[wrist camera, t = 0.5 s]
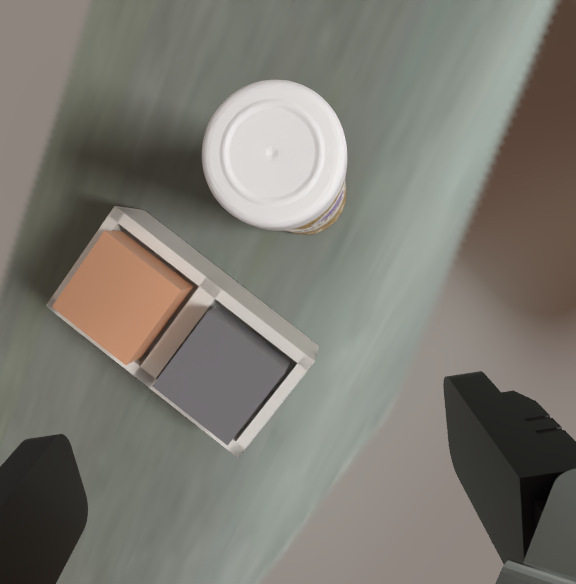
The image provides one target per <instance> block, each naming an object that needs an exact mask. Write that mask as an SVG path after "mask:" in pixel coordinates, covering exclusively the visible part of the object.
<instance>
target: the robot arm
mask: <svg viewBox="0 0 576 584" xmlns="http://www.w3.org/2000/svg"><path fill="white" fill-rule="evenodd" d="M444 397H445V408H446V419H447V429H448V441H449V449H450V454H451V459H452V462H453V466H454V469H455V472H456V474H457V476H458V478H459V480H460V482H461V484H462V486H463V487H464V489H465V491H466V493H467V495H468V497H469V499H470V501H471V503H472V505H473V507H474V508H475V510H476V512H477V514H478V516H479V518H480V520H481V522H482V524H483V526H484V527H485V529H486V531H487V533H488V535H489V537H490V539H491V541H492V543H493V544H494V546H495V548H496V550H497V552H498V554H499V556H500V558H501V560H502V562H503V564H504V566H503V568H502V570H501V572H500V575H499V577H498V579H497V582H496V584H576V441H575V440H574V439H573V438H572V437H571V436H570V435H569V434H568V433H567V432H566V431H565V430H562V428H561V426H560V425H559V424H558V423H557V422H556V421H555V420H554V419H553V418H550V415H549V414H548V413H547V412H546V411H545V410H544V409H543V408H542V407H541V406H540V405H539V404H538V403H537V402H536V401H534V400H532V399H530V398H528V397H525V396H524V395H521V394H519V393H517V392H515V391H508V392H502V393H501V392H500V391H499V390H498V389H497V387H496V386H495V385H494V384H493V383H492V382H491V381H490V379H488V377H487V376H486V375H485V374H484V373H483V372H481V371H480V372H473V373H467V374H460V375H454V376H447V377H445V378H444ZM87 516H88V503H87V497H86V494H85V490H84V487H83V484H82V480H81V477H80V474H79V470H78V467H77V464H76V460H75V457H74V454H73V451H72V447H71V444H70V442H69V440H68V438H67V437H66V436H65V435H63V434H58V435H51V436H45V437H38V438H32V439H26V440H24V441H23V442H22V443H21V444H20V445H19V446H18V447H17V449H16V450H15V451H14V452H13V453H12V454H11V455H10V456H9V458H8V459H7V460H6V461H5V462H4V463H3V464H2V466H1V467H0V584H56V582H57V580H58V578H59V576H60V575H61V573H62V571H63V569H64V567H65V565H66V563H67V561H68V559H69V557H70V555H71V553H72V551H73V550H74V548H75V546H76V544H77V542H78V540H79V538H80V536H81V534H82V532H83V530H84V528H85V525H86V522H87Z"/></svg>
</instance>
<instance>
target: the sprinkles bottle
mask: <svg viewBox="0 0 576 584" xmlns="http://www.w3.org/2000/svg"><path fill="white" fill-rule="evenodd" d="M202 165H203V171H204V175H205V178H206V181H207V184H208V186H209V188H210V190H211V192H212V194H213V196H214V197H215V198H216V200H217V201H218V202H219V204H220V205H221V206H222V207H223V208H224V209H225V210H227V211H228V212H229V213H230V214H231V215H233V216H234V217H236V218H237V219H239V220H241V221H242V222H245V223H247V224H249V225H252V226H255V227H258V228H262V229H267V230H275V231H278V230H284V231H288V232H292V233H295V234H303V235H306V234H307V235H310V234H315V233H318V232H320V231H323V230H325V229H326V228H328V227H329V226H330V225H332V224H333V223H334V222H335V221H336V220H337V218H338V217H339V216H340V214H341V212H342V210H343V208H344V205H345V201H346V183H345V175H346V169H347V147H346V140H345V136H344V132H343V128H342V126H341V123H340V121H339V119H338V117H337V115H336V114H335V112H334V111H333V109H332V108H331V107H330V106H329V104H328V103H327V102H326V101H325V100H324V99H323V98H322V97H321V96H319V95H318V94H317V93H316V92H314V91H313V90H311V89H309V88H307V87H305V86H303V85H301V84H298V83H295V82H291V81H286V80H264V81H259V82H256V83H253V84H249V85H247V86H245V87H243V88H241V89H239V90H237V91H236V92H234V93H233V94H231V95H230V96H229V97H228V98H227V99H226V100H225V101H224V102H223V103H222V104H221V105H220V106H219V107H218V109H217V110H216V111H215V113H214V114H213V116H212V118H211V120H210V121H209V124H208V126H207V129H206V132H205V135H204V139H203V144H202Z"/></svg>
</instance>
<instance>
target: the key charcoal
mask: <svg viewBox="0 0 576 584" xmlns="http://www.w3.org/2000/svg"><path fill="white" fill-rule="evenodd" d="M289 364H290V362H289V361H288V360H286V359H285V358H284V357H283V356H281V355H280V354H279V353H277V352H276V351H275V350H274V349H272V348H271V347H270V346H269V345H267V344H266V343H265V342H263V341H262V340H261V339H260V338H258V337H257V336H256V335H254V334H253V333H252V332H251V331H249V330H248V329H247V328H245V327H244V326H243V325H242V324H240V323H239V322H238V321H236V320H235V319H234V318H233V317H231V316H230V315H229V314H227V313H226V312H225V311H224V310H222V309H221V308H220V307H219V306H218V307H216V308H214V309H212V310H210V311H208V312H207V313H206V315H205V316H204V317H203V319H202V320H201V321H200V323H199V324H198V325H197V327H196V328H195V329H194V331H193V332H192V333H191V335H190V336H189V337H188V339H187V340H186V341H185V343H184V344H183V345H182V347H181V348H180V349H179V351H178V352H177V353H176V355H175V356H174V357H173V359H172V360H171V362H170V363H169V364H168V366H167V367H166V368H165V370H164V371H163V372H162V374H161V375H160V376H159V378H158V379H157V380H156V382H155V383H154V384H153V387H154V388H155V389H156V390H158V391H159V392H160V393H161V394H163V395H164V396H165V397H167V398H168V399H169V400H170V401H172V402H173V403H174V404H175V405H177V406H178V407H179V408H180V409H182V410H183V411H184V412H186V413H187V414H188V415H189V416H191V417H192V418H193V419H194V420H196V421H197V422H198V423H199V424H201V425H202V426H203V427H205V428H206V429H207V430H208V431H210V432H211V433H212V434H213V435H215V436H216V437H217V438H218V439H220V440H221V441H222V442H224V443H225V444H226V445H227V446H228V444H229V443H230V442H231V441H232V439H233V438H234V437H235V436H236V434H237V433H238V432H239V431H240V429H241V428H242V427H243V425H244V424H245V423H246V422H247V420H248V419H249V418H250V417H251V415H252V414H253V413H254V412H255V410H256V409H257V408H258V406H259V405H260V404H261V403H262V401H263V400H264V399H265V398H266V396H267V395H268V394H269V392H270V391H271V390H272V389H273V387H274V386H275V385H276V384H277V382H278V381H279V380H280V379H281V377H282V376H283V375H284V373H285V372H286V370H287V368H288V366H289Z"/></svg>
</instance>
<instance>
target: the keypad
mask: <svg viewBox="0 0 576 584" xmlns="http://www.w3.org/2000/svg"><path fill="white" fill-rule="evenodd" d="M104 231H122V232H124V233H125V234H126V235H127V236H129V237H130V238H131V239H133V240H134V241H135V242H136V243H138V244H139V245H140V246H142V247H143V248H144V249H145V250H147V251H148V252H149V253H151V254H152V255H153V256H154V257H156V258H157V259H158V260H160V261H161V262H162V263H163V264H165V265H166V266H167V267H169V268H170V269H171V270H172V271H174V272H175V273H176V274H177V275H179V276H180V277H181V278H183V279H184V280H185V281H186V282H188V283H189V284H190V285H192V286H193V288H192V289H191V291H190V292H189V293H188V295H187V296H186V297H185V299H184V300H183V301H182V303H181V304H180V305H179V307H178V308H177V310H176V311H175V312H174V314H173V315H172V316H171V318H170V319H169V320H168V322H167V323H166V325H165V326H164V327H163V329H162V330H161V331H160V333H159V334H158V335H157V337H156V338H155V339H154V341H153V342H152V344H151V345H150V346H149V348H148V349H147V350H146V352H145V353H144V354H143V356H142V357H140V358H139V359H137V360H135V361H133V362H132V363H130V364H128V365H125V364H123V363H122V362H121V361H120V360H118V359H117V358H116V357H115V356H113V355H112V354H111V353H109V352H108V351H107V350H106V349H104V348H103V347H102V346H101V345H99V344H98V343H97V342H96V341H94V340H93V339H92V338H90V337H89V336H88V335H87V334H85V333H84V332H83V331H82V330H80V329H79V328H78V327H77V326H75V325H74V324H73V323H71V322H70V321H69V320H68V319H66V318H65V317H64V316H63V315H61V314H60V313H59V312H58V311H56V310H55V309H54V308H52V306H53V304H54V303H55V301H56V300H57V298H58V297H59V296H60V294H61V293H62V291H63V290H64V288H65V287H66V285H67V284H68V283H69V281H70V280H71V278H72V277H73V275H74V274H75V272H76V271H77V270H78V268H79V267H80V265H81V264H82V262H83V261H84V259H85V258H86V257H87V255H88V254H89V252H90V251H91V249H92V248H93V246H94V245H95V244H96V242H97V241H98V239H99V238H100V236H101V235H102V233H103V232H104ZM218 306H219V307H220V308H221V309H222V310H224V311H225V312H226V313H227V314H229V315H230V316H231V317H233V318H234V319H235V320H236V321H238V322H239V323H240V324H242V325H243V326H244V327H245V328H247V329H248V330H249V331H251V332H252V333H253V334H254V335H256V336H257V337H258V338H260V339H261V340H262V341H263V342H265V343H266V344H267V345H269V346H270V347H271V348H272V349H274V350H275V351H276V352H277V353H279V354H280V355H281V356H283V357H284V358H285V359H286V360H288V361H289V362H290V364H289V366H288V368H287V370H286V372H285V373H284V375H283V376H282V377H281V379H280V380H279V381H278V382H277V384H276V385H275V386H274V387H273V389H272V390H271V391H270V392H269V394H268V395H267V396H266V398H265V399H264V400H263V401H262V403H261V404H260V405H259V406H258V408H257V409H256V410H255V412H254V413H253V414H252V415H251V417H250V418H249V419H248V420H247V422H246V423H245V424H244V425H243V427H242V428H241V429H240V431H239V432H238V433H237V434H236V436H235V437H234V438H233V439H232V441H231V442H230V443H229V444H228V446H227V445H226V444H225V443H224V442H222V441H221V440H220V439H218V438H217V437H216V436H215V435H213V434H212V433H211V432H210V431H208V430H207V429H206V428H205V427H203V426H202V425H201V424H199V423H198V422H197V421H196V420H194V419H193V418H192V417H191V416H189V415H188V414H187V413H186V412H184V411H183V410H182V409H180V408H179V407H178V406H177V405H175V404H174V403H173V402H172V401H170V400H169V399H168V398H167V397H165V396H164V395H163V394H161V393H160V392H159V391H158V390H156V389H155V388H154V387H153V384H154V383H155V382H156V380H157V379H158V378H159V376H160V375H161V374H162V372H163V371H164V370H165V368H166V367H167V366H168V364H169V363H170V362H171V360H172V359H173V357H174V356H175V355H176V353H177V352H178V351H179V349H180V348H181V347H182V345H183V344H184V343H185V341H186V340H187V339H188V337H189V336H190V335H191V333H192V332H193V331H194V329H195V328H196V327H197V325H198V324H199V323H200V321H201V320H202V319H203V317H204V316H205V315H206V313H207V312H208V311H210V310H212V309H214V308H216V307H218ZM46 307H47V308H49V309H50V310H51V311H52V312H54V313H55V314H56V315H58V316H59V317H60V318H61V319H63V320H64V321H65V322H66V323H68V324H69V325H70V326H71V327H73V328H74V329H75V330H77V331H78V332H79V333H80V334H82V335H83V336H84V337H85V338H87V339H88V340H89V341H90V342H92V343H93V344H94V345H96V346H97V347H98V348H99V349H101V350H102V351H103V352H104V353H106V354H107V355H108V356H110V357H111V358H112V359H113V360H115V361H116V362H117V363H118V364H120V365H121V366H122V367H123V368H125V369H126V370H127V371H129V372H130V373H131V374H132V375H134V376H135V377H136V378H137V379H139V380H140V381H141V382H142V383H144V384H145V385H146V386H148V387H149V388H150V389H151V390H153V391H154V392H155V393H156V394H158V395H159V396H160V397H161V398H163V399H164V400H165V401H167V402H168V403H169V404H170V405H172V406H173V407H174V408H175V409H177V410H178V411H179V412H180V413H182V414H183V415H184V416H186V417H187V418H188V419H189V420H191V421H192V422H193V423H194V424H196V425H197V426H198V427H199V428H201V429H202V430H203V431H205V432H206V433H207V434H208V435H210V436H211V437H212V438H213V439H215V440H216V441H217V442H218V443H220V444H221V445H222V446H224V447H225V448H226V449H227V450H229V451H230V452H231V453H232V454H234V455H235V456H236V457H237V458H238V457H239V456H240V455H241V454H242V452H243V451H244V450H245V449H246V447H247V446H248V445H249V444H250V442H251V441H252V440H253V439H254V437H255V436H256V435H257V433H258V432H259V431H260V430H261V428H262V427H263V426H264V425H265V423H266V422H267V421H268V420H269V418H270V417H271V416H272V415H273V413H274V412H275V411H276V410H277V408H278V407H279V406H280V405H281V403H282V402H283V401H284V400H285V398H286V397H287V396H288V395H289V393H290V392H291V391H292V390H293V388H294V387H295V386H296V385H297V383H298V382H299V381H300V379H301V378H302V377H303V376H304V374H305V373H306V372H307V371H308V369H309V368H310V367H311V366H312V364H313V363H314V362H315V359H316V355H317V352H318V348H319V346H318V345H317V344H316V343H314V342H313V341H312V340H311V339H309V338H308V337H307V336H305V335H304V334H303V333H301V332H300V331H299V330H298V329H296V328H295V327H294V326H292V325H291V324H290V323H289V322H287V321H286V320H285V319H283V318H282V317H281V316H280V315H278V314H277V313H276V312H274V311H273V310H272V309H271V308H269V307H268V306H267V305H265V304H264V303H263V302H262V301H260V300H259V299H258V298H256V297H255V296H254V295H253V294H251V293H250V292H249V291H247V290H246V289H245V288H244V287H242V286H241V285H240V284H238V283H237V282H236V281H235V280H233V279H232V278H231V277H229V276H228V275H227V274H226V273H224V272H223V271H222V270H220V269H219V268H218V267H217V266H215V265H214V264H213V263H211V262H210V261H209V260H208V259H206V258H205V257H204V256H202V255H201V254H200V253H199V252H197V251H196V250H195V249H193V248H192V247H191V246H190V245H188V244H187V243H186V242H184V241H183V240H182V239H181V238H179V237H178V236H177V235H175V234H174V233H173V232H172V231H170V230H169V229H168V228H166V227H165V226H164V225H163V224H161V223H160V222H159V221H157V220H156V219H155V218H154V217H152V216H151V215H150V214H148V213H147V212H146V211H145V210H140V209H133V208H126V207H120V206H114V208H113V209H112V211H111V212H110V213H109V215H108V216H107V218H106V219H105V221H104V222H103V224H102V225H101V226H100V228H99V229H98V231H97V232H96V234H95V235H94V237H93V238H92V239H91V241H90V242H89V244H88V245H87V247H86V248H85V250H84V251H83V253H82V254H81V255H80V257H79V258H78V260H77V261H76V263H75V264H74V266H73V267H72V268H71V270H70V271H69V273H68V274H67V276H66V277H65V279H64V280H63V282H62V283H61V284H60V286H59V287H58V289H57V290H56V292H55V293H54V295H53V296H52V297H51V299H50V300H49V302H48V303H47V305H46Z"/></svg>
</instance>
